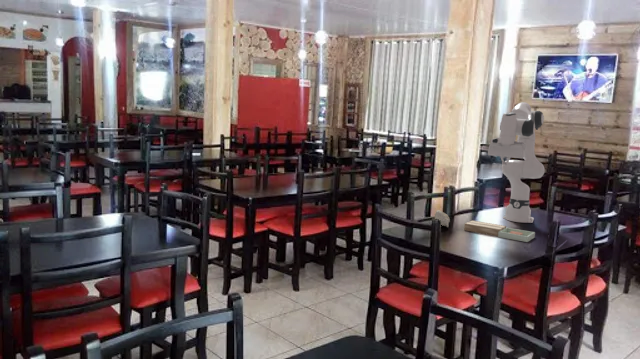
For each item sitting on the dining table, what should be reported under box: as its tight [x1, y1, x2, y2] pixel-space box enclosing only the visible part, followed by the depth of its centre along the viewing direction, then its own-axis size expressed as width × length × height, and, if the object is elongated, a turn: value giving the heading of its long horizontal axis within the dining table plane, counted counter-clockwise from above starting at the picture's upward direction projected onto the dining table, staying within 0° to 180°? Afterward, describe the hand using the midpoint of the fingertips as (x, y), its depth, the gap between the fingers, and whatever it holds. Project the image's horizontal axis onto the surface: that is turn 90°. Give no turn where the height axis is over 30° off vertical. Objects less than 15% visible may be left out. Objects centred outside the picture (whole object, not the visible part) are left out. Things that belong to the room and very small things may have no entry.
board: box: [463, 220, 507, 237], centre depth 317 cm, size 13×20×4 cm, turn 55°
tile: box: [509, 231, 523, 236], centre depth 307 cm, size 6×6×2 cm
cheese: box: [434, 209, 451, 228], centre depth 320 cm, size 15×7×15 cm
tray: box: [497, 227, 536, 243], centre depth 307 cm, size 15×16×3 cm
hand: (504, 164), depth 317 cm, fingers closed
